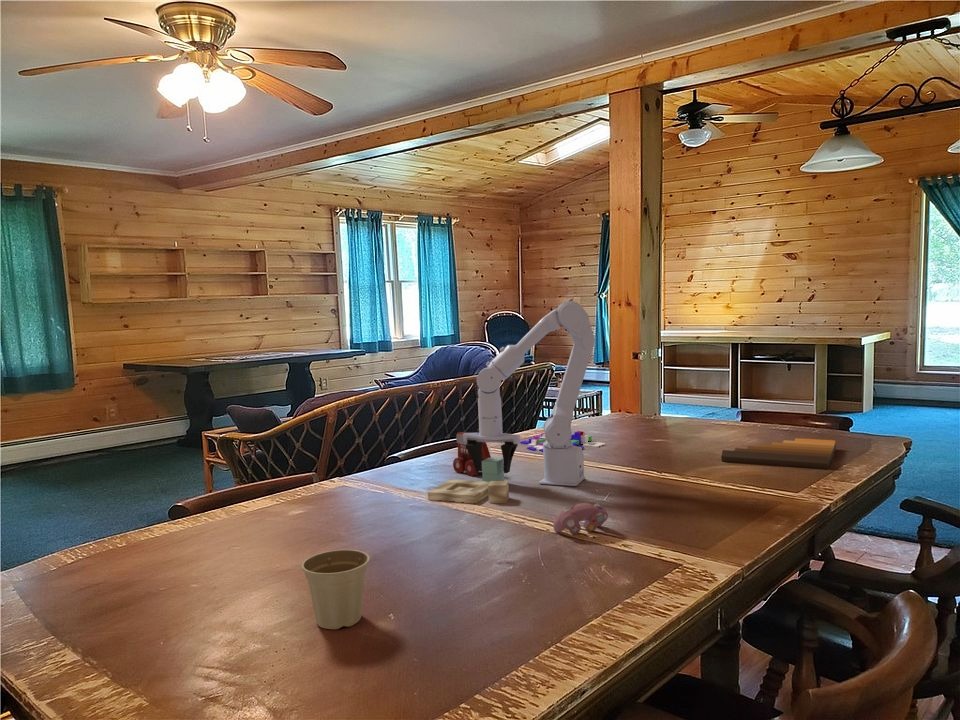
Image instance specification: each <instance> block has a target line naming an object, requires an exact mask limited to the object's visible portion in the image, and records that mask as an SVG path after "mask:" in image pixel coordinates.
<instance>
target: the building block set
mask: <svg viewBox="0 0 960 720" xmlns="http://www.w3.org/2000/svg"><path fill="white" fill-rule="evenodd" d="M592 437H593V436H592V435H587V432H586V431H585V430H577V431H574V433H573V434H572V436H571V439H570V441H572V443H573V446H577V445H579V446H580V447H581V448H582V449H583V448H584V449H585V446H592V447H591V448H594V447H598V448H600V447H599V446H601V447H603V446H602V445H604V446H606V445H607V443H606V442H598V441H592V440H593V438H592ZM545 441H546V438H545V433H544V432H543V433H542V432H541V434H540V435H534V436H533V437H531V438H528V440H520V443H521V444H520V443H519V444H520V445H527V444H528V445H527V447H526V449H529V450H528V451H530V450H532V452H535V450H539V451H541V452H540V453H543V443H544V442H545ZM588 441H591V442H588ZM592 443H594V444H592ZM580 444H583V445H582V446H581V445H580ZM589 444H591V445H589ZM605 444H606V445H605ZM536 445H537V446H536ZM530 446H534V447H530ZM584 449H583V450H584ZM539 451H538V452H539Z"/></svg>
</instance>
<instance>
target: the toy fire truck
mask: <svg viewBox="0 0 960 720" xmlns="http://www.w3.org/2000/svg"><path fill="white" fill-rule="evenodd" d="M465 433H466V432H463V431H460V432H457V433H456V438H455V441H456V443H457V457H456V458H454V459H453V460H452V461H453V462H452V467H453V470H454V471H455V473H456V474H457V473H458V474H461V473H464V472H465V473H466V474H467V476H469V477H473V476H476V475H477V474H478V473H479V472H482V468H481V470H480V471H476V470H475V467H474V463H473V460H472V458H471V456H470V454H469V452H468V450H467V449H466V446H465V445H466V444H467V442H463V434H465ZM487 458H492V456H491V453H490V450H489V447H488V445H487V442H482V449H481V462H482V461H483V460H485V459H487Z"/></svg>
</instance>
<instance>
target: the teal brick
mask: <svg viewBox="0 0 960 720" xmlns="http://www.w3.org/2000/svg"><path fill="white" fill-rule="evenodd" d="M481 472H482V476H481V477H482V481H484V482H490V481H505V475H504V474H505V473H504V468H503V458H501V457H499V458H498V457H496V458H495V457H491V458H487V459H485V460H483V461H482V471H481Z"/></svg>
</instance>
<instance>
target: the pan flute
mask: <svg viewBox="0 0 960 720" xmlns="http://www.w3.org/2000/svg"><path fill="white" fill-rule="evenodd" d="M836 451H837V443H836V439H835V440H834V439H833V440H832V439H818V438H817V439H813V438H798V437H796V438H794V440H785V439H783V441H782V442H777V441H776V442H775V441H772V442H771V443H770V444H763V443H760V444H759V446H756V445H755V446H754V445H753V446H752V445H747V447H746V448H742V447H741V448H739V447H736V448H734V450H727V449H726V450H725V449H722V451H721V456H720V457H721V462H722V463H734V464H735V463H736V464H748V465H749V464H750V465H761V466H762V465H764V466H779V467H788V468H789V467H790V468H805V469H819V470H820V469H821V470H829V469H830V466H831V463H832V460H833V458H834V455H835V453H836Z"/></svg>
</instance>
